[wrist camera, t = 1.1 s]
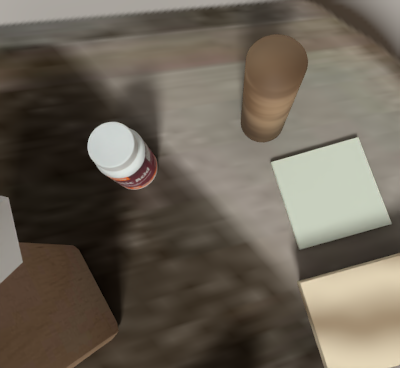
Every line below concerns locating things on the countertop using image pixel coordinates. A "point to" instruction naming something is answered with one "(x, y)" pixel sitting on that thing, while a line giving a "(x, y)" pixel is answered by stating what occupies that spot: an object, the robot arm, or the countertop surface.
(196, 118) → the countertop surface
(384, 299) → the birch slab
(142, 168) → the pill bottle
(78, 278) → the wooden block
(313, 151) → the mat
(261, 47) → the walnut roller
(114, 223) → the countertop surface
